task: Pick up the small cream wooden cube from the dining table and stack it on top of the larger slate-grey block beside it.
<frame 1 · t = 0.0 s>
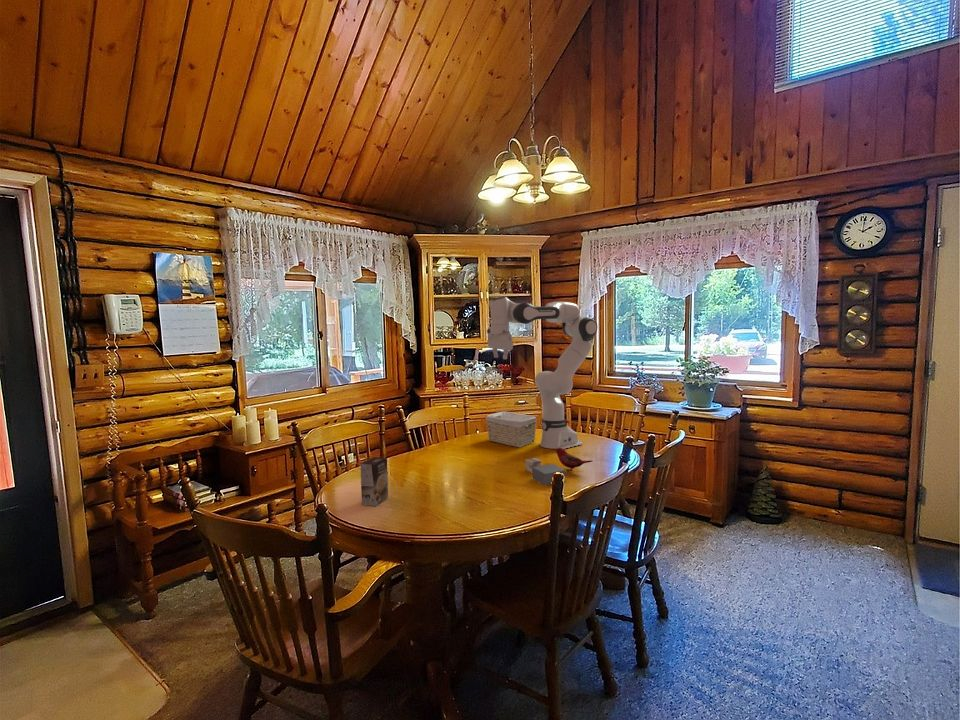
hand: (500, 358, 251), 48 cm above the table, tool pointing down, fingers open, 8 cm apart
grey block: (548, 480, 214), on the table
cream cube: (533, 470, 227), on the table
decorative bird figurine: (573, 472, 225), on the table
storage basket: (511, 442, 277), on the table
coffee box: (375, 501, 194), on the table
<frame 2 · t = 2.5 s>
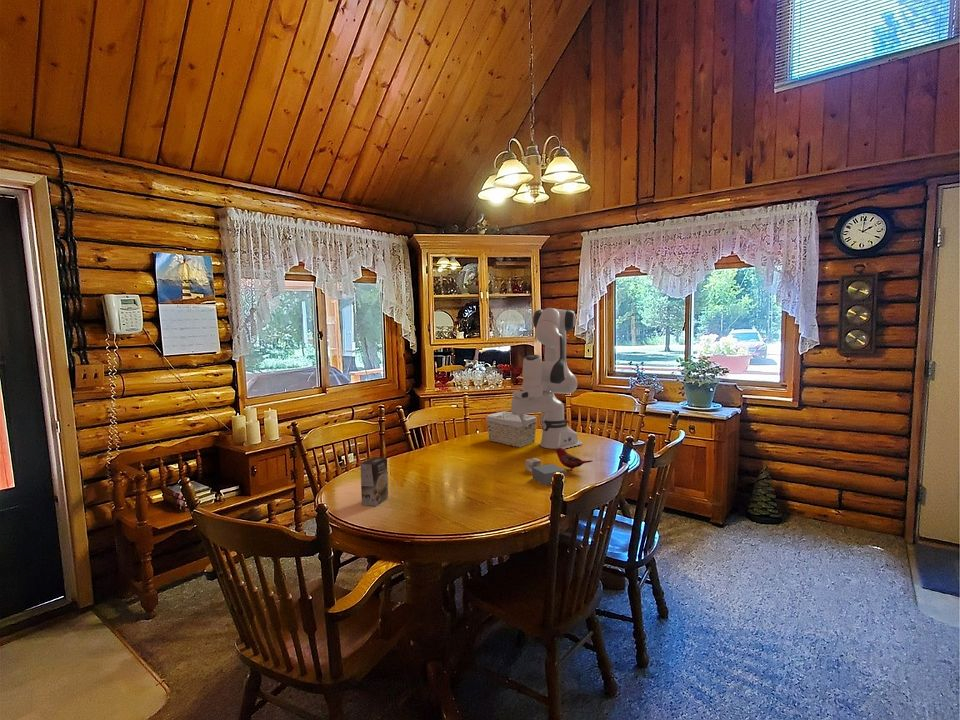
hand: (532, 422, 225), 22 cm above the table, tool pointing down, fingers open, 8 cm apart
nothing on the table moved.
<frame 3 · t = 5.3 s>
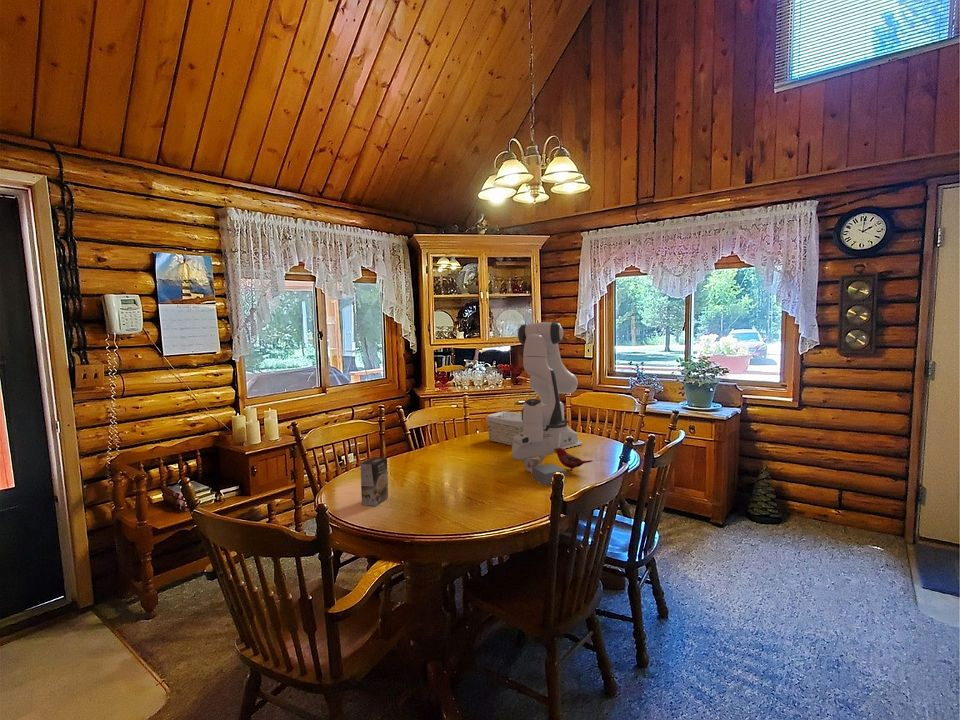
hand: (533, 466, 227), 2 cm above the table, tool pointing down, fingers closed on cream cube, 5 cm apart
cream cube: (533, 470, 227), on the table, touching gripper
everything else where it was.
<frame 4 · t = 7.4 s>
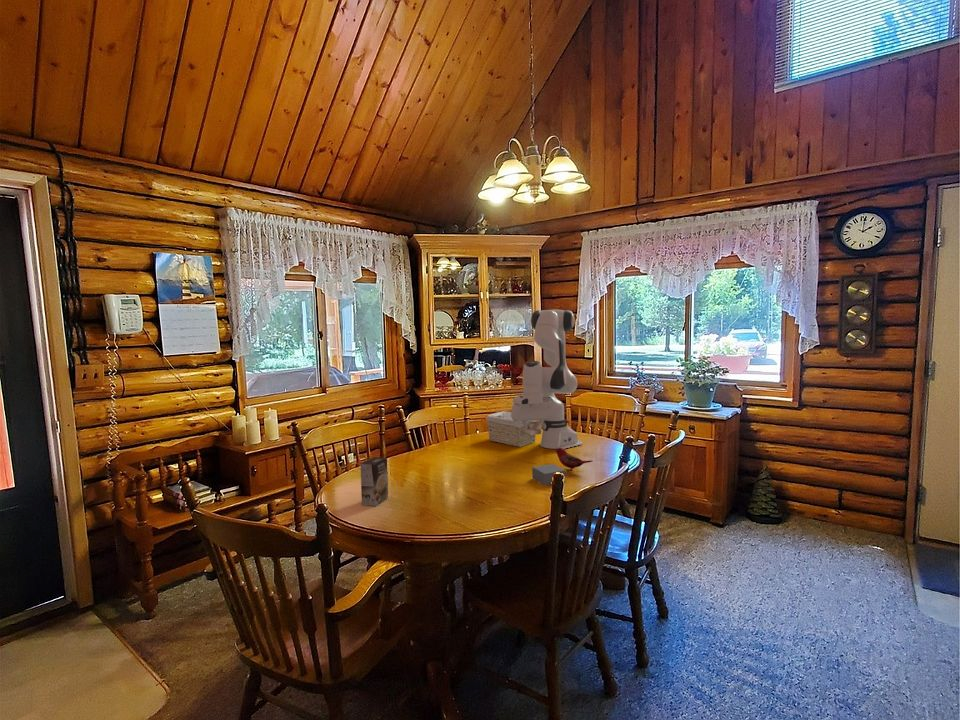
hand: (533, 429, 225), 19 cm above the table, tool pointing down, fingers closed on cream cube, 5 cm apart
cream cube: (533, 433, 225), point 17 cm above the table, touching gripper
everything else where it was.
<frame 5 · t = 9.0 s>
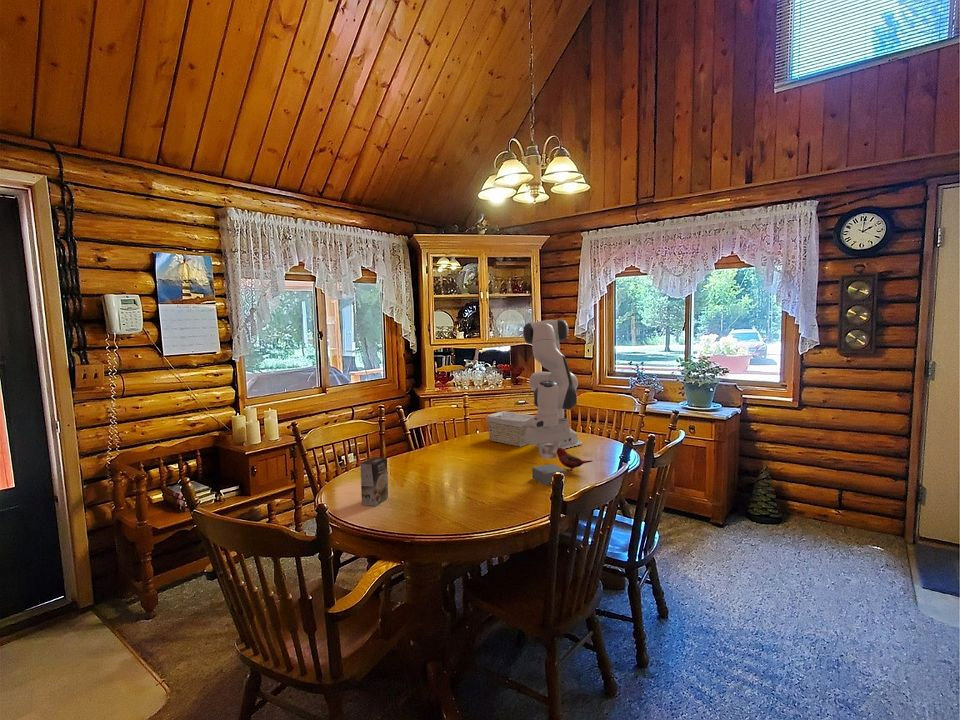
hand: (548, 452, 213), 12 cm above the table, tool pointing down, fingers closed on cream cube, 5 cm apart
cream cube: (548, 457, 213), point 10 cm above the table, touching gripper
everything else where it was.
when the fingers open (9 cm above the table, at t = 10.0 s): cream cube drops 2 cm, resting on grey block.
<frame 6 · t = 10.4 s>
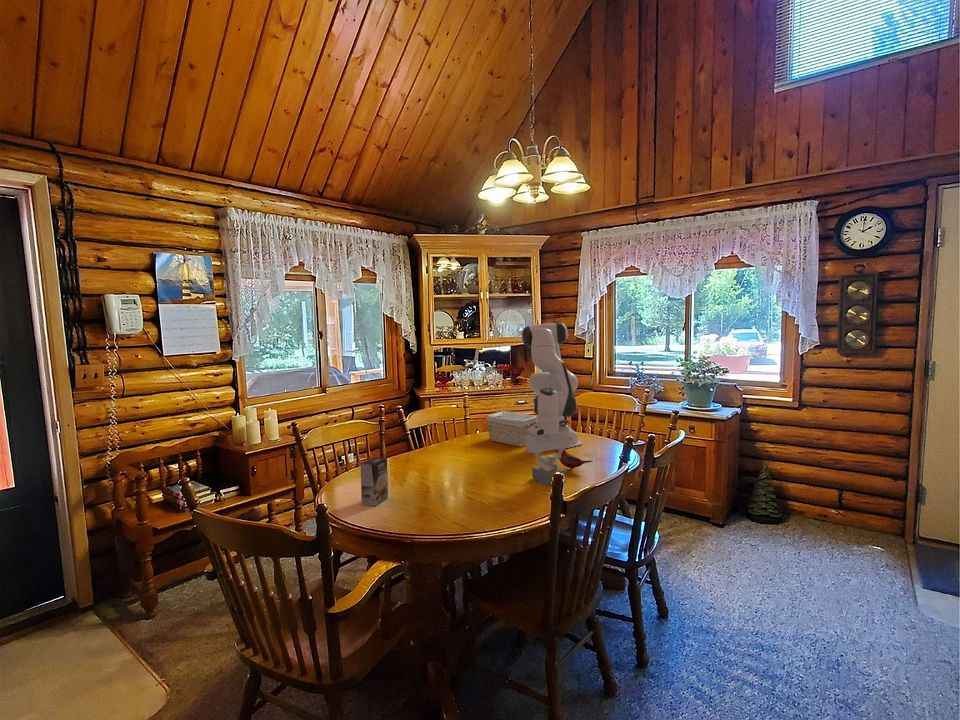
hand: (548, 460, 213), 9 cm above the table, tool pointing down, fingers open, 8 cm apart
cream cube: (548, 468, 214), point 5 cm above the table, touching grey block
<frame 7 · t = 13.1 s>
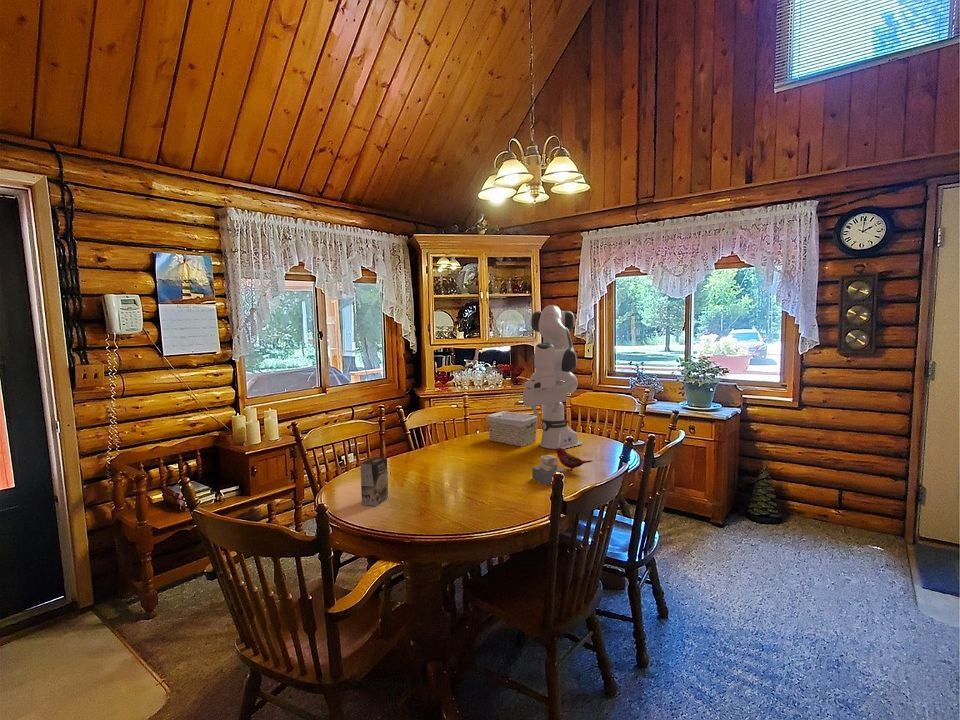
hand: (545, 414, 216), 27 cm above the table, tool pointing down, fingers open, 8 cm apart
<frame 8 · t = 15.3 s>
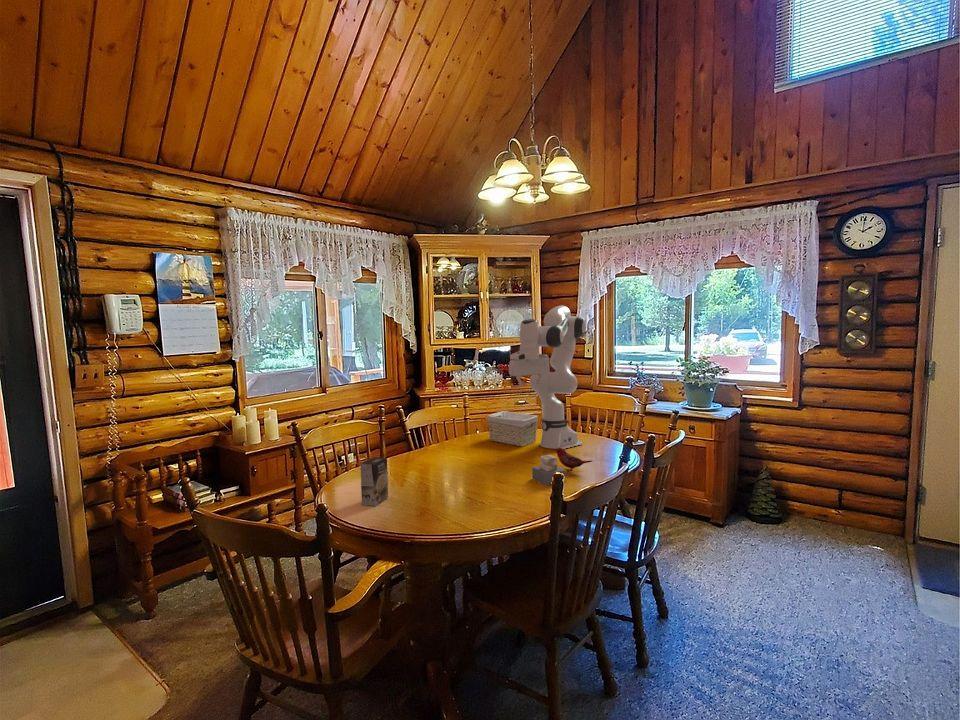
hand: (529, 384, 236), 37 cm above the table, tool pointing down, fingers open, 8 cm apart
at the end: cream cube inside the target area on the grey block (0.1 cm from its centre), point 5.0 cm above the grey block's base; cream cube tilted 0°; cream cube touching grey block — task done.
